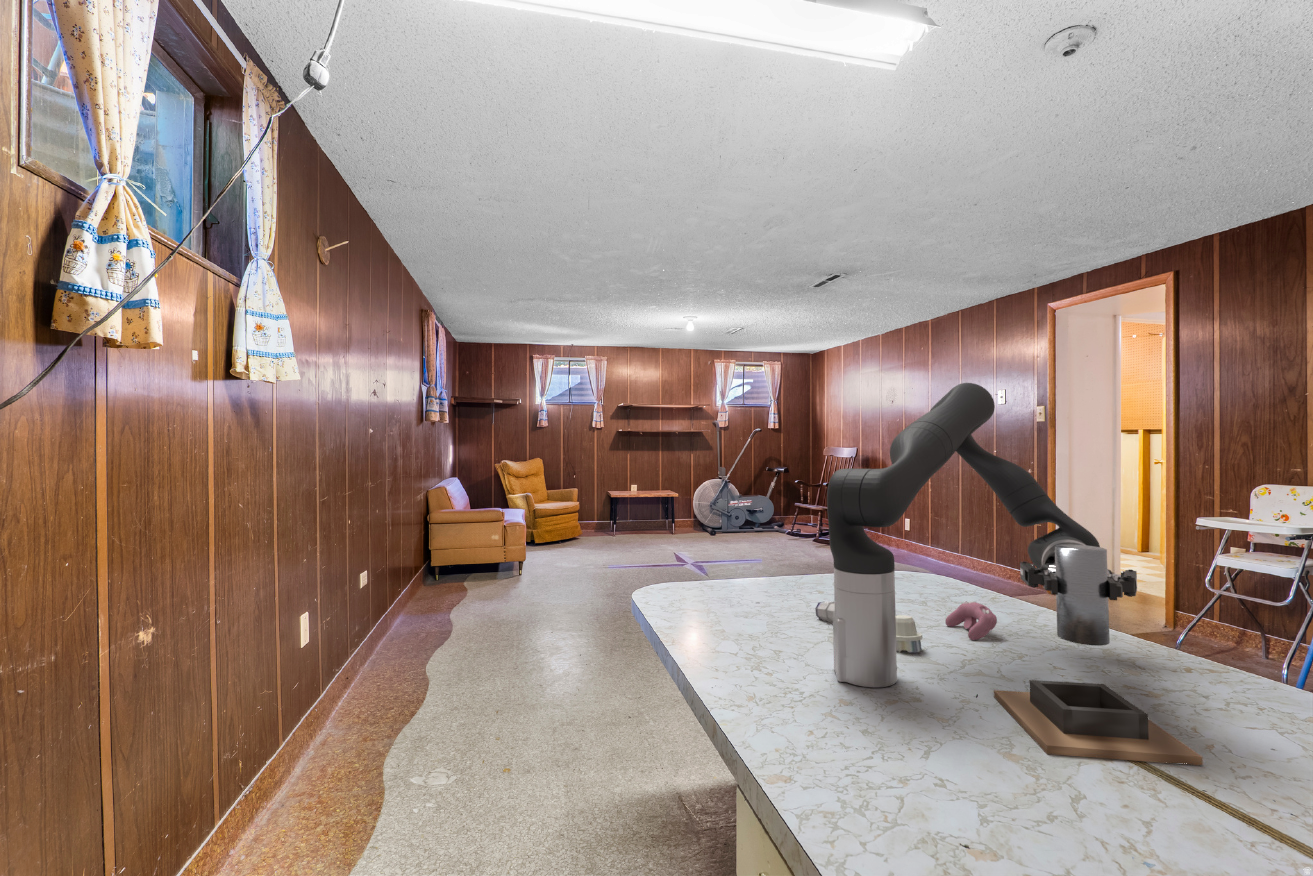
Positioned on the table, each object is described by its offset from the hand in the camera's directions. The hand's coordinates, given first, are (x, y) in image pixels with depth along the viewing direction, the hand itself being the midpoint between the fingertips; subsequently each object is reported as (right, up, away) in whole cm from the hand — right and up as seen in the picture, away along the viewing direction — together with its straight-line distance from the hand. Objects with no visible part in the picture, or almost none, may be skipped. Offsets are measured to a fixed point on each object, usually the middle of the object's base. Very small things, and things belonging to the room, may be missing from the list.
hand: (1083, 589), depth 75 cm
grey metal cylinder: (+1, -7, +2) cm, 7 cm away
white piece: (-14, -20, +39) cm, 46 cm away
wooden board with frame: (0, -18, 0) cm, 18 cm away
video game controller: (+7, -19, +39) cm, 44 cm away
